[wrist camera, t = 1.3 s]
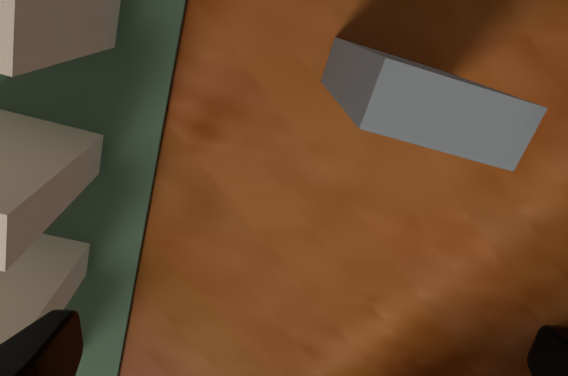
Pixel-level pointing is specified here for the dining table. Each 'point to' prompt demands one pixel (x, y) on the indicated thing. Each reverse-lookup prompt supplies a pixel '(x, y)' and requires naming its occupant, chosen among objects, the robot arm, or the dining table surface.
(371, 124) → the slate domino
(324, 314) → the dining table surface
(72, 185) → the domino
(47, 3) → the domino
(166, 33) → the strip
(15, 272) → the domino
